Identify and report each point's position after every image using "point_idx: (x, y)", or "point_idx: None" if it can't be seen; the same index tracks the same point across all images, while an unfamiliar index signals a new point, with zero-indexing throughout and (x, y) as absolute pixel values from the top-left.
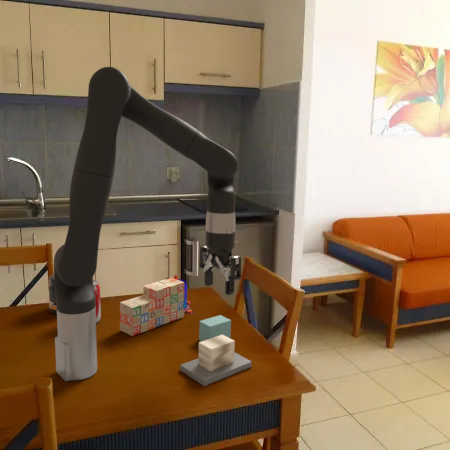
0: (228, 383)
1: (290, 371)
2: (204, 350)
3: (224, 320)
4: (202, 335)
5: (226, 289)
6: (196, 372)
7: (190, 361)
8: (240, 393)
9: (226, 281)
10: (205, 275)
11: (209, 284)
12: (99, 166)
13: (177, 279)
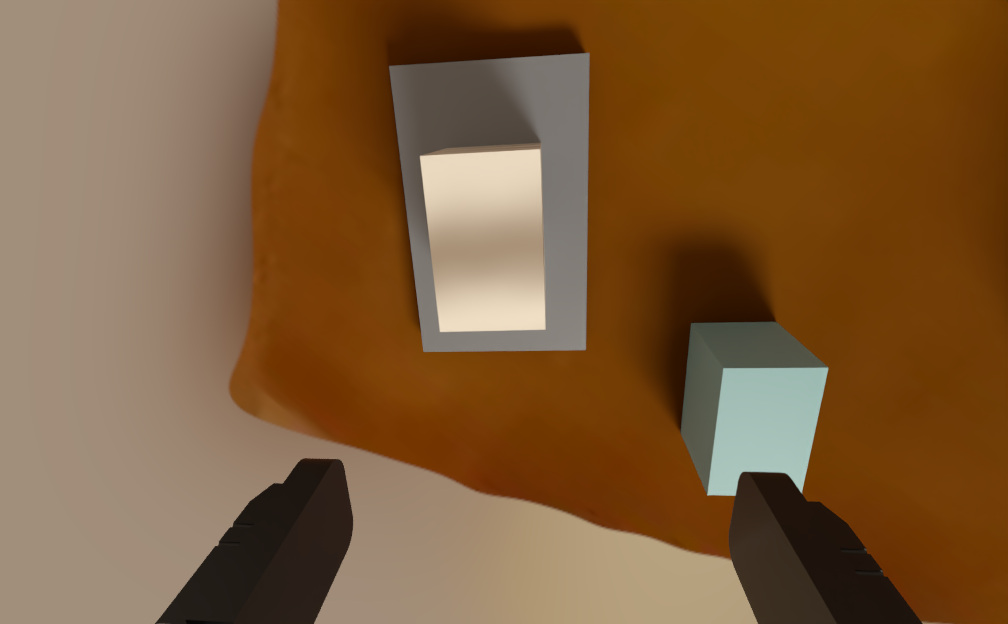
0: (366, 180)
1: (329, 425)
2: (485, 150)
3: (729, 470)
4: (762, 335)
5: (278, 504)
6: (475, 81)
7: (585, 122)
8: (278, 171)
9: (210, 617)
10: (860, 601)
11: (740, 516)
12: None
13: None
